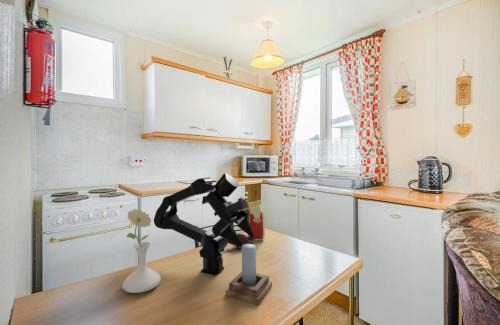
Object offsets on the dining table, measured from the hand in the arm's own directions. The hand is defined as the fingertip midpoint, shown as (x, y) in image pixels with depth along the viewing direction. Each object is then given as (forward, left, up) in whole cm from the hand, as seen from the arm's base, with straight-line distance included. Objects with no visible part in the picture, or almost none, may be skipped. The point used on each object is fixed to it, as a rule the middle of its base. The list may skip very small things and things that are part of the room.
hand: (247, 240), depth 82 cm
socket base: (+4, -6, -14) cm, 15 cm away
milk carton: (-14, +40, -14) cm, 45 cm away
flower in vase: (-29, -19, -14) cm, 38 cm away
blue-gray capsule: (+4, -6, -12) cm, 14 cm away
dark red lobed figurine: (-16, +24, -14) cm, 32 cm away
